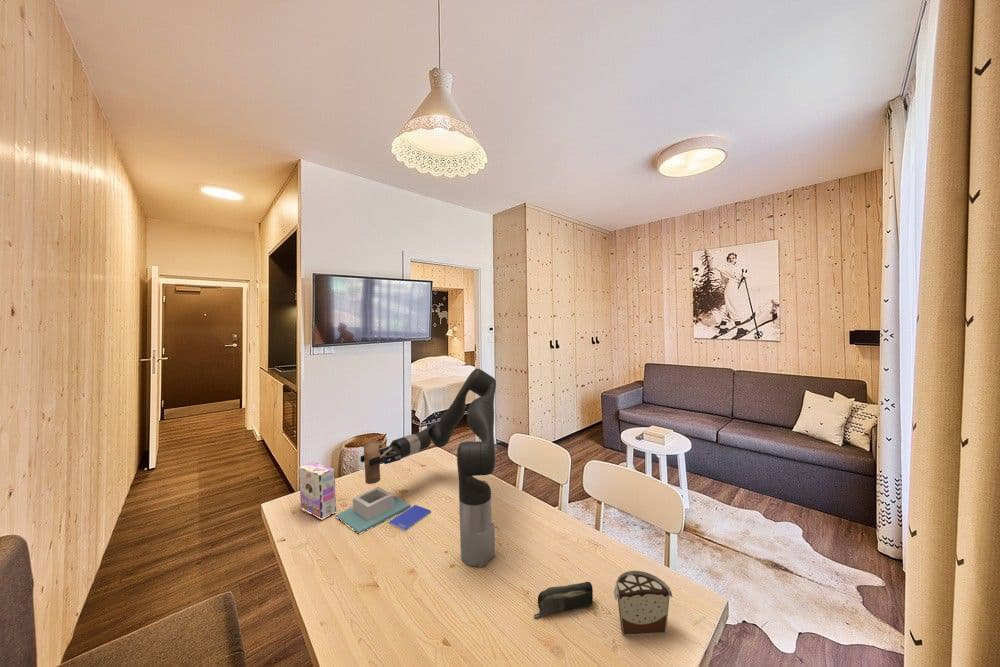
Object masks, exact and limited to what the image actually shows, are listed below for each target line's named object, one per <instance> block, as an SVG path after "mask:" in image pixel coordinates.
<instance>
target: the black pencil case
mask: <svg viewBox="0 0 1000 667" xmlns="http://www.w3.org/2000/svg"><path fill="white" fill-rule="evenodd" d="M593 596H594V588H593V584H592V583H591V582H590V581H584V582H580V583H579V582H578V583H572V584H567V585H561V586H560V585H559V586H558V585H557V586H551V587H550V586H549V587H548V588H545V589H544V590H542V591H540V592H539V594H538V596H537V606H538V609H539V612H537V613H536V614H535V613H534V615H533V617H534V619H537V618H541V617H545V616H549V615H550V616H551V615H554V614H560V613H564V612H570V611H571V612H572V611H575V610H580V609H581V610H582V609H586V608H589V607H591V606H592V605H593V603H594V602H593V599H594V597H593Z"/></svg>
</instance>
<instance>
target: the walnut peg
mask: <svg viewBox="0 0 1000 667" xmlns="http://www.w3.org/2000/svg"><path fill="white" fill-rule="evenodd" d="M379 443H380V442H379V440H378V439H370V440H365V441H364V442H363V455H364V462H363V463H364V476H365V477H364V478H365V479H364V480H365V483H366V484H367V485H372V484H373V485H374V484H377V483H378V482H380V481H381V469H380V468H381V467H380V464H381V463H378V464H376V465H373V466H369V460H370V459H373V458H376V457H379V456H380V453H379V445H380V444H379Z"/></svg>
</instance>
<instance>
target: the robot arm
mask: <svg viewBox="0 0 1000 667" xmlns="http://www.w3.org/2000/svg"><path fill="white" fill-rule="evenodd" d="M496 387H497V381H496V379H495V378H494V377H493V376H492V375H490V374H489V373H487V372H486V371H484V370H483V369H480V368H475V369H474V370H473V371H471V373H470V374H469V376H468V377H467V378H466V380H465V382H464V383H463V384H462V386H461V388H460V390H459V392H458V393H457V394H456V397H455V398H454V400H453V401H452V403H451V404H450V406H449V408H447V410H446V411H445V412H444V413H443V414H442V416H441V418H440V421H439V422H438V421H437V422H436V421H435V422H433V423H431V424H430V425H429V426H427V427H426V428H424V429H423V430H421V431H419V432H416V433H413V434H408V435H405V436H402V437H399V438H396V439H393V440H392V441H391V443H390V444H389V445H386V446H384V447H383V446H382V445H381V444H379V457H376V458H373V459H370V460H369V466H373V465H376V464H378V463H380V464H384V465H388V464H391V463H394V462H395V463H396V462H398V461H401V460H402V459H404V458H407V457H409V456H412V455H415V454H416V453H418V452H421V451H423V450H425V449H427V448H429V447H430V445H431V442H432V444H434V446H435V447H437V448H443V447H445V446H446V445H447V444H448V443H449V441H450V438H451V437H452V434H453V432H454V430H455V428H456V427H457V425H458V424H459V423H460V421H461V420H462V419H463V418H464V415H465V413H466V412H465V411H466V401H467V395H468V393H469V392H470V391H471V392H473V393H475V395H477V396H479V397H477V398H475V399H473V400H472V401H471V402H470V403H469V405H468V409H467V415H466V422H467V426H468V428H469V429H470V430H471V432H473V433H474V435H476V437H478V439H479V440H480V441H462V442H460V443H459V445H458V447H457V450H456V451H457V452H456V461H457V462H456V465H457V466H456V467H457V474H458V476H457V477H458V496H459V498H458V501H459V538H460V559H461V561H462V562H463V563H464V564H466V565H468V566H471V567H480V568H483V567H484V566H485V565H487V564H488V563H489V562H490V561H491V560H492V559H493V558H495V556H496V536H495V535H496V532H495V531H496V530H495V527H496V526H495V523H493V522H492V521H493V519H492V513H493V512H492V488H491V486H490V485H489V483H487V482H486V481H484V480H481V479H478V478H476V477H474V476H477V477H478V476H490V475H492V474H493V472H494V470H495V466H496V449H495V436H494V435H495V434H494V429H495V428H494V426H495V396H496V395H495V394H496ZM359 459H360V461H359V462H361V463H365V462H364V454H363V455H361V456H360V458H359Z"/></svg>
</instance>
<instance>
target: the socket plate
mask: <svg viewBox="0 0 1000 667" xmlns="http://www.w3.org/2000/svg"><path fill="white" fill-rule="evenodd" d="M352 505H353V506H352V507H350V508H348V509H346V510H343V511H341V512H339V513H336V514H335V518H336V517H338V518H339V519H341V520H342V521H343V522H345V523H346V524H347V525H349V526H350V527H351V528H353V529H354V530H355V531H356V532H358V533H361V532H363V531H365V530H367V529H369V530H371V529H372V528H371V527H373V528H375V527H377V526H379V525H380V523H381V524H382V523H384V522H386V521H388V520H390V519H392V518H393V516H394V517H395V515H396V516H398V515H400V514H402V513H403V512H405V511H406V509H407V510H408V508H409V509H410V507H411V503H408V502H405V501H404V500H403V499H401V498H398V497H397V496H395V495H394V494H393V493H391V492H389V491H387V490H385V489H384V488H382V487H381V486H380V487H379V486H377V487H375V488H372V489H369V490H367V491H366V492H363V493H360V494H358V495H357V496H354V497H352ZM391 517H392V518H391ZM389 518H390V519H389ZM387 519H388V520H387ZM385 520H386V521H385ZM383 521H384V522H383ZM378 524H379V525H378ZM376 525H377V526H376ZM374 526H375V527H374ZM370 528H371V529H370ZM367 531H368V530H367ZM356 532H355V533H356Z"/></svg>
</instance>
